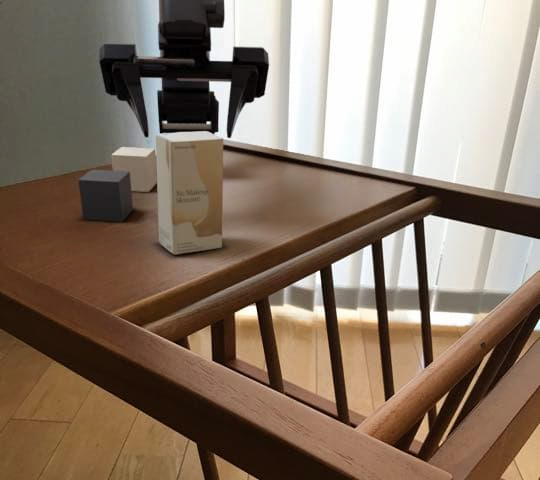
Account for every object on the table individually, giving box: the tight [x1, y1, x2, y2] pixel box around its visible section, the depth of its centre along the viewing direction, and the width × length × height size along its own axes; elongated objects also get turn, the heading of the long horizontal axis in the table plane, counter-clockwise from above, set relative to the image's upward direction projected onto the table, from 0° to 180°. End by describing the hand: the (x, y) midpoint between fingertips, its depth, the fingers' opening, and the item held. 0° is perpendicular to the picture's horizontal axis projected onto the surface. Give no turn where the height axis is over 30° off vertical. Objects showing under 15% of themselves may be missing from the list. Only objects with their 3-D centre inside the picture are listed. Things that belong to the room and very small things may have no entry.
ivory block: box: [110, 146, 157, 193], centre depth 91 cm, size 5×5×5 cm
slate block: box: [78, 169, 134, 223], centre depth 79 cm, size 5×5×5 cm
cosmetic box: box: [155, 131, 224, 255], centre depth 69 cm, size 6×4×12 cm
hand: (188, 135), depth 70 cm, fingers open, 9 cm apart
